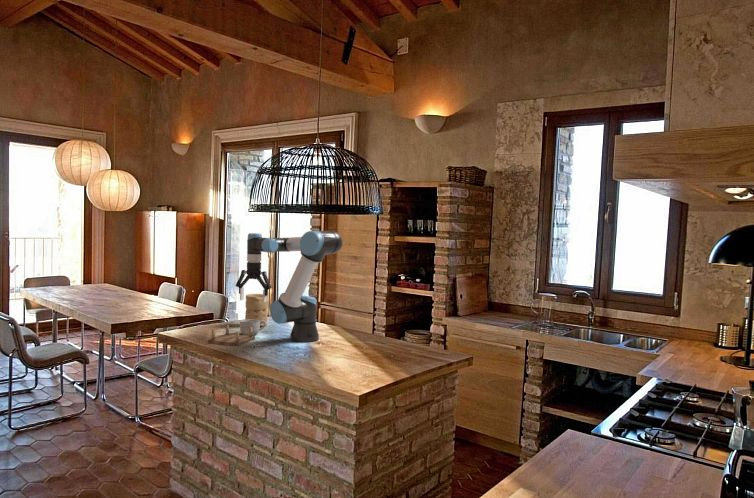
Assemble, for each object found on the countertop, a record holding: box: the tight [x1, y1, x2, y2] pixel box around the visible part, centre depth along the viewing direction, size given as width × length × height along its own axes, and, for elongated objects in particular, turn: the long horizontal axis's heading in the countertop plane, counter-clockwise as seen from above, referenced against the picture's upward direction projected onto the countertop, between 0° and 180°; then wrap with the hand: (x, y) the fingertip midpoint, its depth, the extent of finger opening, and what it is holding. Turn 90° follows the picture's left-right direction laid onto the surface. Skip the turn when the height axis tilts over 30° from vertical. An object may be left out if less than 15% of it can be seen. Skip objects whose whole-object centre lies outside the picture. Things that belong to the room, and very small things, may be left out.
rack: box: [207, 324, 256, 347], centre depth 283 cm, size 17×17×6 cm
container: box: [244, 293, 269, 328], centre depth 324 cm, size 13×13×18 cm
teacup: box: [239, 319, 266, 336], centre depth 300 cm, size 14×11×8 cm
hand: (253, 300), depth 299 cm, fingers open, 13 cm apart
